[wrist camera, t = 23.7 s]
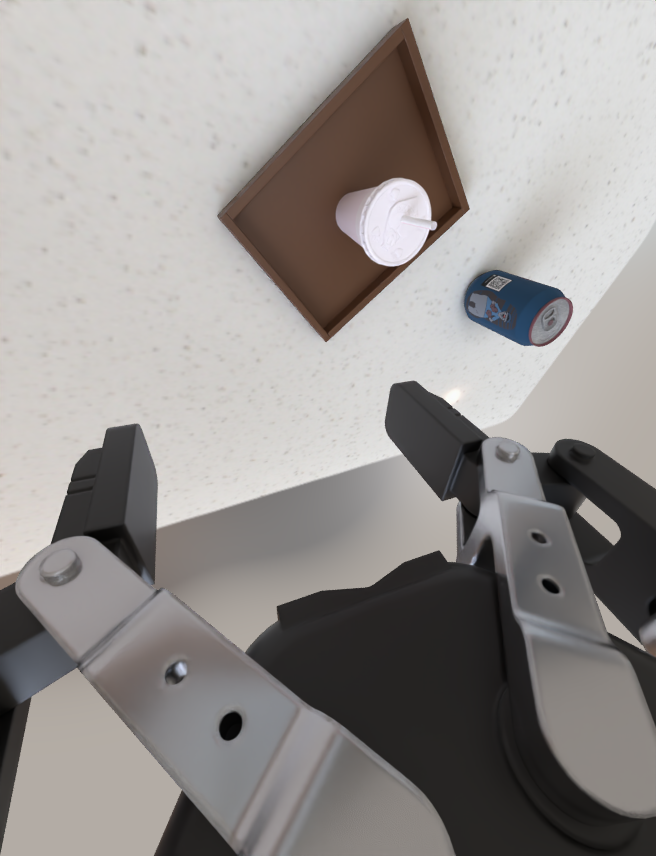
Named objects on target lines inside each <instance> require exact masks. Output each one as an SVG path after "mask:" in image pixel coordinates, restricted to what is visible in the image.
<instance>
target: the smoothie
mask: <svg viewBox="0 0 656 856" xmlns="http://www.w3.org/2000/svg"><path fill="white" fill-rule="evenodd" d="M336 221H337V224H338V226H339V228H340V229H341V230H342V231H343V232H344V233H346V234H347V235H348V236H349V237H350V238H352V239H353V240H354V241H355V242H357V243H358V244H359V245H360V246H362V247H363V248H364V251H365V253H366V254H367V255H368V256H369V257H370V259H371V260H373V261H374V262H376V263H378V264H381V265H385V266H399V265H402V264H404V263H406V262H408V261H409V260H411V259H412V258H413V257H414V256H415V255H416V254H417V253H418V252H419V250H420V249H421V248H422V246H423V244H424V242H425V241H426V238H427V236H428V233H429V230H435V229H436V227H437V223H436V222H435V221H431V205H430V201H429V198H428V196H427V193H426V192H425V190H424V189H423V188H422V187H421V186H420V185H419V184H418V183H416V182H415V181H412V180H409V179H404V178H392V179H390V180H387V181H385V182H383V183H382V184H380V185H379V186H377V187H373V188H369V189H364V190H360V191H355V192H351V193H348V194H346V195H344V196H343V197H342V198H341V200H340V201H339V203H338V205H337V208H336Z"/></svg>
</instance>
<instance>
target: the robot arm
mask: <svg viewBox="0 0 656 856" xmlns="http://www.w3.org/2000/svg"><path fill="white" fill-rule="evenodd" d="M385 428H386V432H387V434H388V436H389V437H390V439H391V440H392V441H393V442H394V443H395V445H396V446H397V447H398V448H399V450H400V451H401V452H402V453H403V454H404V456H405V457H406V458H407V459H408V460H409V462H410V463H411V464H412V465H413V467H414V468H415V469H416V470H417V471H418V473H419V474H420V475H421V476H422V478H423V479H424V480H425V481H426V482H427V484H428V485H429V486H430V487H431V488H432V490H433V491H434V492H435V493H436V494H437V496H438V497H439V498H440V499H441V501H444V500H448V499H451V498H454V497H457V498H458V500H459V503H458V505H457V559H456V562H447V561H446V559H445V558H444V556H443V555H442V554H441V552H440V551H436V552H433V553H430V554H427V555H424V556H421V557H418V558H415V559H412V560H410V561H407V562H404V563H403V564H401V565H400V566H398V567H397V568H396V569H394V570H393V571H392V572H390V573H389V574H387V575H386V576H385V577H383V578H382V579H381V580H380V581H378V582H376V583H375V584H374V585H372V586H370V587H366V588H353V589H341V590H327V591H320V592H317V593H314V594H311V595H308V596H306V597H302V598H300V599H297V600H294V601H291V602H288V603H285V604H282V605H280V606H277V615H278V621H277V622H275V623H274V624H273V625H271V626H270V627H268V628H267V629H266V630H265V631H264V632H263V633H262V634H261V635H259V637H258V638H257V639H256V640H255V641H254V642H253V643H252V644H251V645H250V647H249V648H248V649H247V651H246V652H245V653H244V652H243V651H242V650H241V649H239V648H238V647H237V646H236V645H235V644H233V643H232V642H231V641H230V640H229V639H227V638H226V637H225V636H224V635H223V634H221V633H220V632H219V631H218V630H216V629H215V628H214V627H213V626H212V625H210V624H209V623H208V622H207V621H206V620H204V619H203V618H202V617H201V616H200V615H198V614H197V613H196V612H195V611H193V610H192V609H191V608H189V607H188V606H187V605H186V604H185V603H184V602H183V601H181V600H180V599H179V598H178V597H176V596H175V595H174V594H173V593H171V592H170V591H168V590H167V589H165V588H160V589H159V590H156V589H155V588H153V587H152V586H151V585H153V584H154V583H155V582H154V581H155V553H156V552H155V551H156V521H157V489H158V482H157V474H156V469H155V466H154V462H153V460H152V457H151V454H150V451H149V448H148V446H147V443H146V440H145V437H144V434H143V432H142V429H141V427H140V425H139V424H131V425H125V426H119V427H112V428H108V429H107V430H106V434H105V438H104V442H103V447H102V448H98V449H92V450H88V451H87V452H86V453H85V455H84V456H83V457H82V458H81V459H80V460H79V461H78V462H77V463H76V464H75V468H74V471H73V474H72V477H71V482H70V484H69V487H68V490H67V495H66V497H65V500H64V503H63V506H62V509H61V513H60V516H59V519H58V522H57V526H56V529H55V532H54V535H53V538H52V542H51V545H49V546H47V547H46V548H44V549H42V550H41V551H40V552H38V553H37V554H36V555H34V556H33V557H32V558H31V559H30V560H29V561H28V562H27V563H26V564H25V566H24V567H23V568H22V570H21V571H20V573H19V575H18V577H17V580H16V582H15V583H13V584H12V585H10V586H8V587H6V588H4V589H2V590H0V852H1V848H2V843H3V838H4V832H5V828H6V823H7V818H8V812H9V807H10V802H11V797H12V792H13V786H14V782H15V777H16V772H17V767H18V762H19V757H20V752H21V747H22V742H23V737H24V732H25V726H26V722H27V717H28V711H29V707H30V702H31V697H32V696H33V695H35V694H36V693H37V692H39V691H41V690H43V689H44V688H45V687H47V686H49V685H50V684H52V683H53V682H55V681H56V680H58V679H60V678H61V677H63V676H64V675H66V674H67V673H69V672H70V671H72V670H74V669H75V668H78V669H79V670H80V672H81V673H82V674H83V675H84V676H85V678H86V679H87V680H88V681H89V682H90V684H91V685H92V686H93V687H94V688H95V689H96V690H97V692H98V693H99V694H100V695H101V696H102V697H103V699H104V700H105V701H106V702H107V703H108V704H109V706H110V707H111V708H112V709H113V710H114V711H115V713H116V714H117V715H118V716H119V717H120V718H121V720H122V721H123V722H124V723H125V724H126V725H127V727H128V728H129V729H130V730H131V731H132V732H133V734H134V735H135V736H136V737H137V738H138V739H139V740H140V742H141V743H142V744H143V745H144V746H145V748H146V749H147V750H148V751H149V752H150V753H151V754H152V755H153V757H154V758H155V759H156V760H157V761H158V763H159V764H160V765H161V766H162V767H163V768H164V770H165V771H166V772H167V773H168V774H169V775H170V777H171V778H172V779H173V780H174V781H175V782H176V784H177V785H178V786H179V787H180V788H181V789H182V791H181V794H180V796H179V798H178V801H177V803H176V805H175V808H174V810H173V812H172V815H171V817H170V820H169V822H168V824H167V826H166V829H165V831H164V833H163V836H162V838H161V840H160V843H159V845H158V847H157V850H156V852H155V855H154V856H656V489H655V488H653V487H652V486H650V485H649V484H647V483H646V482H645V481H643V480H642V479H640V478H639V477H637V476H636V475H635V474H633V473H631V472H630V471H629V470H627V469H626V468H625V467H623V466H622V465H620V464H619V463H617V462H616V461H615V460H613V459H612V458H610V457H609V456H607V455H606V454H604V453H603V452H602V451H600V450H599V449H597V448H596V447H594V446H592V445H590V444H587V443H584V442H582V441H578V440H573V439H562V440H559V441H557V442H556V444H555V445H554V447H553V449H552V450H551V452H550V453H531V452H530V451H529V450H528V449H527V448H526V447H524V446H523V445H521V444H520V443H518V442H516V441H513V440H510V439H507V438H502V437H492V438H489V437H488V436H487V435H486V434H484V433H483V432H482V431H481V430H480V429H478V428H477V427H476V426H475V425H474V424H472V423H471V422H470V421H469V420H468V419H466V418H465V417H464V416H463V415H462V416H461V413H459V412H458V411H457V410H456V409H455V408H454V409H453V408H452V406H451V405H450V404H449V403H447V402H446V401H445V400H444V399H443V398H441V397H438V396H436V395H434V394H432V393H430V392H428V391H427V390H426V389H424V388H423V387H422V386H421V385H420V384H419V383H417V382H416V381H408V382H402V383H396V384H393V385H392V387H391V389H390V394H389V400H388V406H387V412H386V417H385ZM586 498H588V499H589V500H590V501H591V502H593V503H594V504H595V505H596V506H597V507H598V508H600V509H601V510H602V511H603V512H605V514H607V515H608V516H609V517H610V518H611V519H613V520H614V521H615V522H616V523H617V525H618V526H619V528H620V531H621V538H620V540H619V541H618V542H617V543H616V544H615V545H612V544H611V543H610V542H609V541H608V540H607V539H606V538H605V537H604V536H602V535H601V534H600V533H599V532H598V531H597V530H596V529H595V528H594V527H592V526H591V525H590V524H589V523H588V522H587V521H586V520H585V519H584V518H583V517H581V516H580V515H579V514H578V513H577V512H576V511H577V510H578V509H579V507H580V506H581V504H582V503H583V502H584V500H585V499H586ZM594 594H595V595H596V596H597V597H598V598H599V599H600V600H601V601H602V603H603V604H604V605H605V606H606V607H607V608H608V609H609V610H610V611H611V612H612V613H613V614H614V615H615V616H616V618H617V619H618V620H619V621H620V622H621V623H622V624H623V625H624V626H625V627H626V628H627V629H628V630H629V631H630V632H631V633H632V635H633V636H634V637H635V638H636V639H637V640H638V641H639V642H640V643H641V644H642V645H643V646H644V648H645V650H646V651H643V650H641V649H639V648H637V647H635V646H634V645H632V644H629V643H627V642H626V641H624V640H622V639H620V638H618V637H616V636H614V635H612V634H610V633H608V632H607V630H606V628H605V625H604V622H603V619H602V616H601V613H600V610H599V607H598V604H597V601H596V598H595V595H594Z"/></svg>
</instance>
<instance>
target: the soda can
mask: <svg viewBox="0 0 656 856" xmlns="http://www.w3.org/2000/svg"><path fill="white" fill-rule="evenodd" d="M464 306H465V310H466V313H467V315H468V317H469V318H470V319H471V320H472V321H474V322H476V323H478V324H480V325H482V326H484V327H486V328H488V329H490V330H492V331H494V332H496V333H498V334H500V335H502V336H504V337H506V338H508V339H510V340H512V341H514V342H516V343H518V344H520V345H523V346H531V345H534V346H538V347H541V346H545V345H548V344H549V343H551V342H553V341H554V340H555V339H556V338H557V337H559V336H560V334H561V333H562V332H563V331H564V330H565V328H566V327H567V325H568V323H569V321H570V319H571V316H572V313H573V305H572V302H571V301H570V300H569V299H568V298H566V297H565V296H564V294H563V293H562V292H561V291H560V290H559V289H557V288H554V287H551V286H547V285H544V284H541V283H538V282H535V281H531V280H528V279H525V278H522V277H519V276H516V275H512V274H509V273H506V272H503V271H499V270H493V271H489V272H487V273H485V274H482V275H480V276H479V277H477V278H476V279H475V280H474V281H473V282H472V283H471V284H470V286H469V287H468V289H467V291H466V294H465V297H464Z"/></svg>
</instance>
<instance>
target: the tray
mask: <svg viewBox="0 0 656 856" xmlns="http://www.w3.org/2000/svg"><path fill="white" fill-rule="evenodd" d="M392 178H404V179H409V180H412V181H415V182H416V183H418V184H419V185H420V186H421V187H422V188H423V189H424V190H425V192H426V193H427V196H428V198H429V201H430V205H431V221H435V222H436V223H437V227H436V229H435V230H429V233H428V236H427V238H426V241H425V242H424V244H423V246H422V248H421V249H420V250H419V252H418V253H417V254H416V255H415V256H414V257H413V258H412V259H411V260H409V261H408V262H406V263H404V264H402V265H399V266H385V265H381V264H378V263H376V262H374V261H373V260H371V259H370V257H369V256H368V255H367V254H366V253H365V251H364V248H363V247H362V246H360V245H359V244H358V243H357V242H355V241H354V240H353V239H352V238H350V237H349V236H348V235H347V234H346V233H344V232H343V231H342V230H341V229H340V228H339V226H338V224H337V221H336V208H337V205H338V203H339V201H340V200H341V198H342V197H343V196H344V195H346V194H348V193H351V192H355V191H360V190H364V189H369V188H373V187H377V186H379V185H380V184H382V183H383V182H385V181H387V180H390V179H392ZM468 210H469V205H468V202H467V199H466V196H465V193H464V190H463V187H462V184H461V181H460V177H459V174H458V171H457V168H456V165H455V162H454V159H453V156H452V153H451V149H450V146H449V143H448V140H447V137H446V134H445V131H444V128H443V125H442V121H441V118H440V115H439V112H438V109H437V106H436V103H435V100H434V97H433V94H432V90H431V87H430V84H429V81H428V78H427V75H426V72H425V69H424V66H423V62H422V59H421V56H420V53H419V50H418V47H417V44H416V41H415V38H414V34H413V31H412V28H411V25H410V22H409V19H408V18H407V19H406V20H404V21H402V22H401V23H399V24H398V25H396V26H394V27H393V28H392V29H391V30H390V31H389V32H388V33H387V34H386V36H385V37H384V38H383V39H382V40H381V41H380V42H379V43H378V44H377V45H376V46H375V47H374V48H373V49H372V51H371V52H370V53H369V54H368V55H367V56H366V57H365V58H364V59H363V60H362V61H361V62H360V63H359V64H358V66H357V67H356V68H355V69H354V70H353V71H352V72H351V73H350V74H349V75H348V76H347V77H346V78H345V79H344V81H343V82H342V83H341V84H340V85H339V86H338V87H337V88H336V89H335V90H334V91H333V92H332V93H331V95H330V96H329V97H328V98H327V99H326V100H325V101H324V102H323V103H322V104H321V105H320V106H319V107H318V108H317V110H316V111H315V112H314V113H313V114H312V115H311V116H310V117H309V118H308V119H307V120H306V121H305V122H304V123H303V125H302V126H301V127H300V128H299V129H298V130H297V131H296V132H295V133H294V134H293V135H292V136H291V137H290V138H289V140H288V141H287V142H286V143H285V144H284V145H283V146H282V147H281V148H280V149H279V150H278V151H277V152H276V153H275V155H274V156H273V157H272V158H271V159H270V160H269V161H268V162H267V163H266V164H265V165H264V166H263V167H262V168H261V170H260V171H259V172H258V173H257V174H256V175H255V176H254V177H253V178H252V179H251V180H250V181H249V182H248V184H247V185H246V186H245V187H244V188H243V189H242V190H241V191H240V192H239V193H238V194H237V195H236V196H235V197H234V199H233V200H232V201H231V202H230V203H229V204H228V205H227V206H226V207H225V208H224V209H223V210H222V211H221V212H220V214H219V215H218V218H219V219H220V220H221V221H222V223H223V224H224V225H225V226H226V227H227V228H228V230H229V231H230V232H231V233H232V234H233V235H234V236H235V238H236V239H237V240H238V241H239V242H240V243H241V245H242V246H243V247H244V248H245V249H246V250H247V252H248V253H249V254H250V255H251V256H252V257H253V259H254V260H255V261H256V262H257V263H258V264H259V265H260V267H261V268H262V269H263V270H264V271H265V272H266V274H267V275H268V276H269V277H270V278H271V279H272V281H273V282H274V283H275V284H276V285H277V286H278V287H279V289H280V290H281V291H282V292H283V293H284V294H285V296H286V297H287V298H288V299H289V300H290V301H291V303H292V304H293V305H294V306H295V307H296V308H297V310H298V311H299V312H300V313H301V314H302V315H303V316H304V318H305V319H306V320H307V321H308V322H309V323H310V325H311V326H312V327H313V328H314V329H315V330H316V332H317V333H318V334H319V335H320V336H321V337H322V338H323V339H324V341H325V342H327V341H328V340H329V339H330V338H331V337H333V336H334V335H335V334H336V333H337V332H338V331H339V330H340V329H341V328H342V327H343V326H344V325H345V324H347V323H348V322H349V321H350V320H351V319H352V318H353V317H354V316H355V315H356V314H357V313H358V312H359V311H361V310H362V309H363V308H364V307H365V306H366V305H367V304H368V303H369V302H370V301H371V300H372V299H373V298H375V297H376V296H377V295H378V294H379V293H380V292H381V291H382V290H383V289H384V288H385V287H386V286H387V285H389V284H390V283H391V282H392V281H393V280H394V279H395V278H396V277H397V276H398V275H399V274H400V273H401V272H403V271H404V270H405V269H406V268H407V267H408V266H409V265H410V264H411V263H412V262H413V261H414V260H415V259H417V258H418V257H419V256H420V255H421V254H422V253H423V252H424V251H425V250H426V249H427V248H428V247H429V246H431V245H432V244H433V243H434V242H435V241H436V240H437V239H438V238H439V237H440V236H441V235H442V234H443V233H445V232H446V231H447V230H448V229H449V228H450V227H451V226H452V225H453V224H454V223H455V222H456V221H457V220H459V219H460V218H461V217H462V216H463V215H464V214H465V213H466V212H467V211H468Z"/></svg>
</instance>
